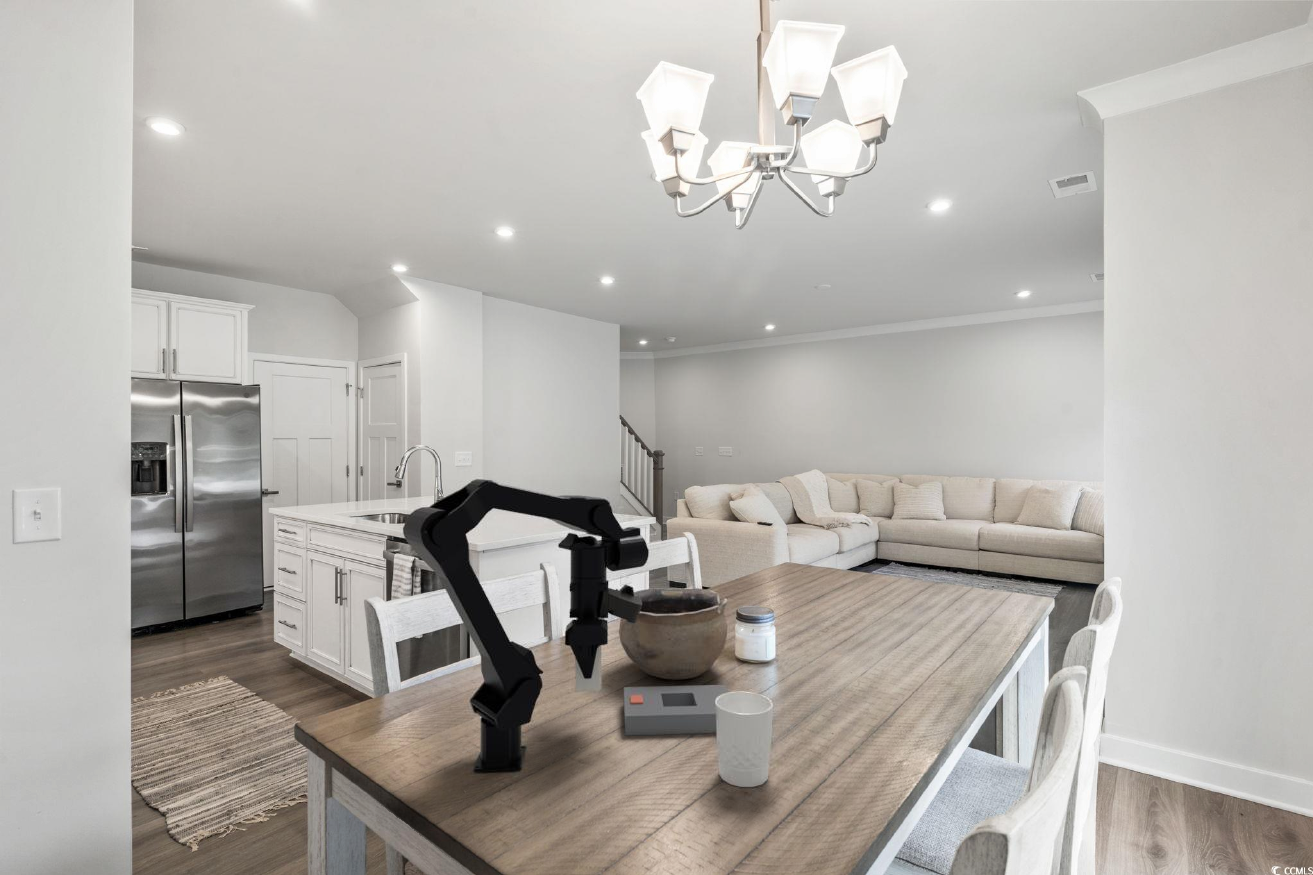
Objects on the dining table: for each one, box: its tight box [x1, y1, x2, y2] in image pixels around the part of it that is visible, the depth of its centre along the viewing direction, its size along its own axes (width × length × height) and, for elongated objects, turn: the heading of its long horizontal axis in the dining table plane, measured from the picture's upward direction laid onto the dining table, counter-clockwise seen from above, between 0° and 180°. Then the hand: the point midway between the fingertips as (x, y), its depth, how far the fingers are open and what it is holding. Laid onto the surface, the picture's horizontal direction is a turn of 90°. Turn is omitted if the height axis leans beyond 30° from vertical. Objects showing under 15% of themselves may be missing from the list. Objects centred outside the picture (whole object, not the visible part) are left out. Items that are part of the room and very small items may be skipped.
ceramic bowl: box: [618, 587, 728, 681], centre depth 128 cm, size 22×22×15 cm
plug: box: [574, 645, 602, 693], centre depth 102 cm, size 4×4×8 cm
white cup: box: [715, 691, 774, 788], centre depth 88 cm, size 8×8×10 cm
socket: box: [623, 684, 730, 736], centre depth 106 cm, size 12×18×3 cm, turn 94°
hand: (588, 673), depth 102 cm, fingers closed on plug, 4 cm apart
